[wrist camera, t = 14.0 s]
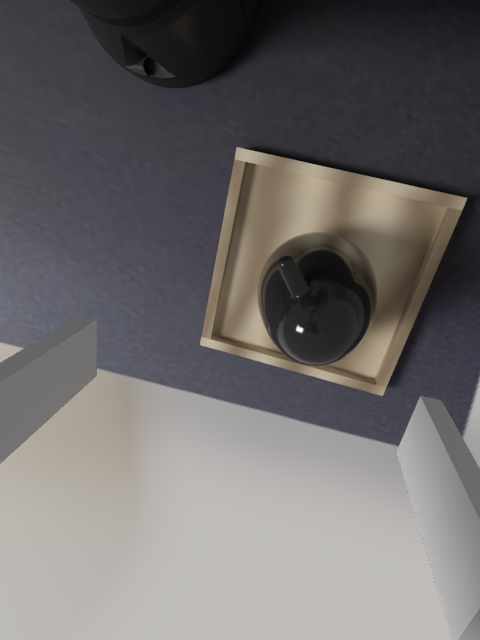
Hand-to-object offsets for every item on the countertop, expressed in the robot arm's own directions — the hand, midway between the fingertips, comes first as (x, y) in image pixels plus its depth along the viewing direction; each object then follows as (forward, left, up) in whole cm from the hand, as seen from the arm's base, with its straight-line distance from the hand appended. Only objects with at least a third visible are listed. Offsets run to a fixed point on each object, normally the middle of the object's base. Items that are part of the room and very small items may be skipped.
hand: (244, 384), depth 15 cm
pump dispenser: (+3, +2, -24) cm, 24 cm away
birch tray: (+3, +2, -24) cm, 24 cm away
